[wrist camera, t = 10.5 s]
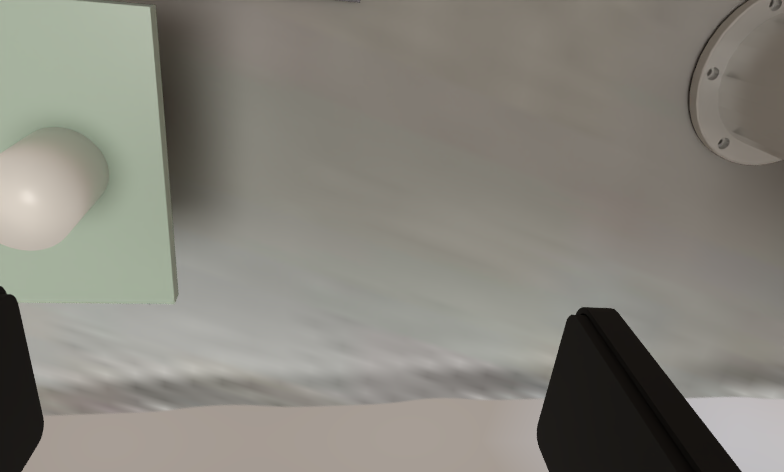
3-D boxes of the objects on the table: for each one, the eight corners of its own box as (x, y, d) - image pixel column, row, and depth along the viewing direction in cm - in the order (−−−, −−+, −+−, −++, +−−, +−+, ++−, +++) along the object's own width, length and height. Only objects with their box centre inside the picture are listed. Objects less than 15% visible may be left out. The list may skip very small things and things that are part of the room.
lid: (155, 4, 25) (118, 18, 20) (178, 294, 32) (154, 356, 27) (-72, -15, 24) (-170, -6, 19) (1, 291, 30) (-58, 357, 25)
